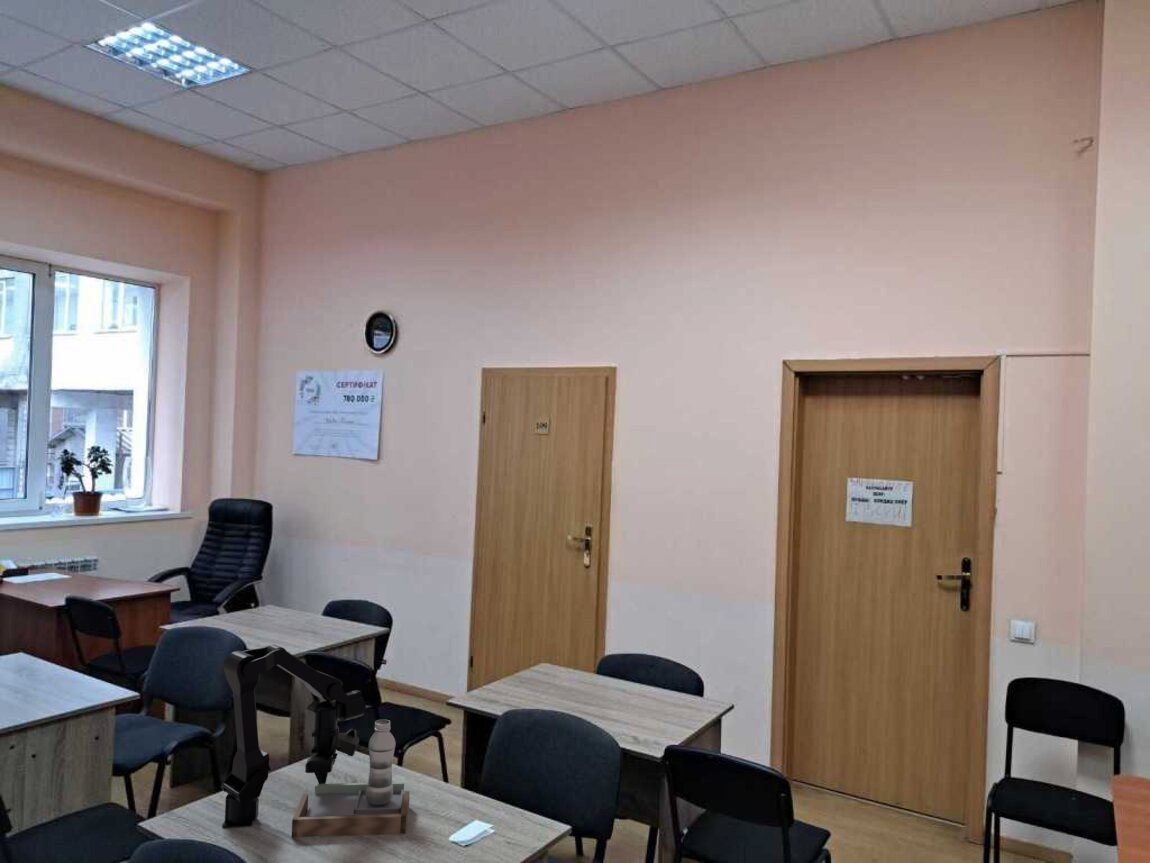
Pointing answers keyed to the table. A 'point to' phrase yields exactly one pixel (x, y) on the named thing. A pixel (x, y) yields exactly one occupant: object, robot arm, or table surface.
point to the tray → (351, 800)
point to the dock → (348, 822)
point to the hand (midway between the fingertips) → (322, 786)
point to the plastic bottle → (380, 764)
